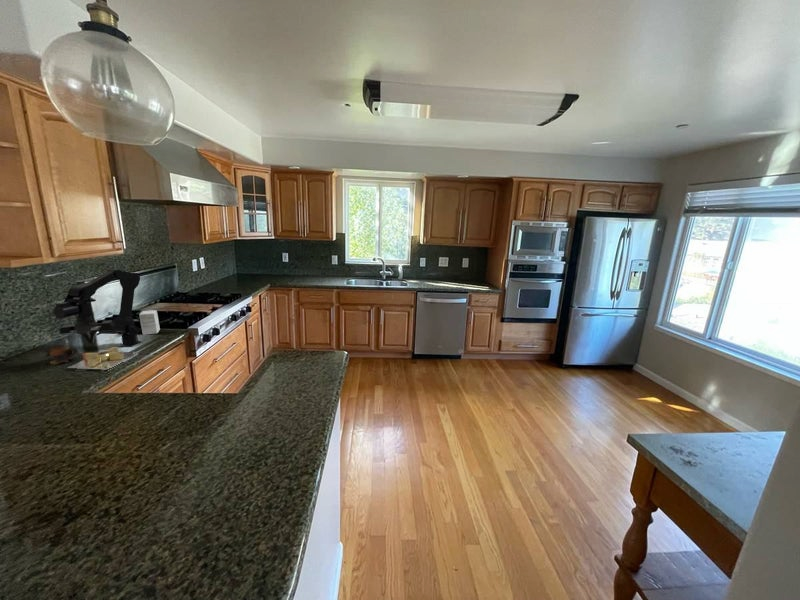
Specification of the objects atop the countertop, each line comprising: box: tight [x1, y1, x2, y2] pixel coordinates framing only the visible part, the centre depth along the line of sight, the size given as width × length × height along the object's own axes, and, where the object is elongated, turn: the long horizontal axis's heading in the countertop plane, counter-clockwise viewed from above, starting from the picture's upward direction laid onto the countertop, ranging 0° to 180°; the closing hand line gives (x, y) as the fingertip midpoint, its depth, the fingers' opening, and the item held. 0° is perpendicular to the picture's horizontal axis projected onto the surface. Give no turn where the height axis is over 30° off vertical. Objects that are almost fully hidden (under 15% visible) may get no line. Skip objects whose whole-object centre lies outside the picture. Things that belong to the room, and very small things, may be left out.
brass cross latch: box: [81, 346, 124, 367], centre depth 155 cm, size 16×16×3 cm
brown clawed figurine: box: [44, 345, 78, 365], centre depth 156 cm, size 12×10×8 cm
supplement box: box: [138, 309, 161, 336], centre depth 194 cm, size 7×7×13 cm
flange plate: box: [66, 351, 139, 369], centre depth 156 cm, size 18×18×2 cm
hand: (91, 343), depth 157 cm, fingers closed
